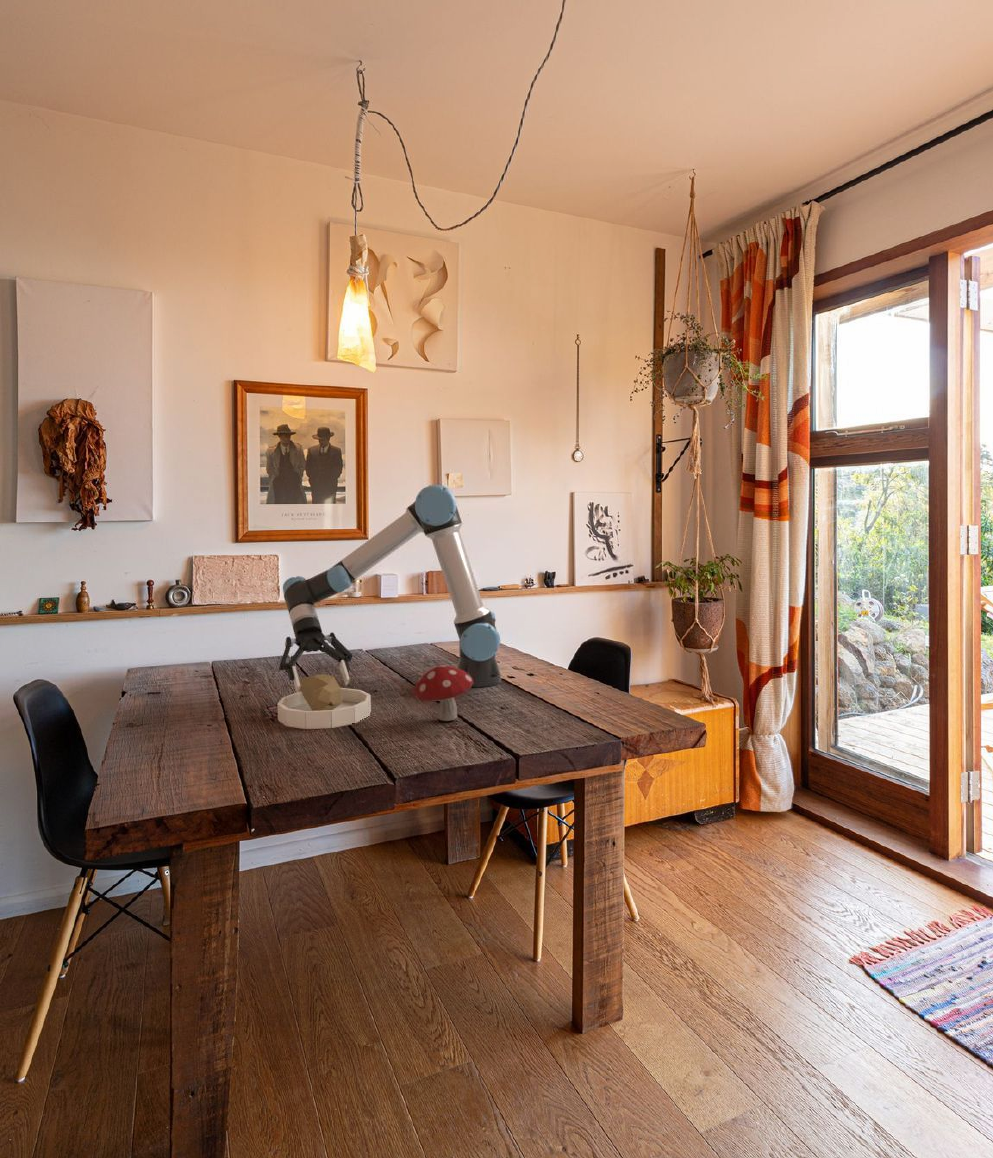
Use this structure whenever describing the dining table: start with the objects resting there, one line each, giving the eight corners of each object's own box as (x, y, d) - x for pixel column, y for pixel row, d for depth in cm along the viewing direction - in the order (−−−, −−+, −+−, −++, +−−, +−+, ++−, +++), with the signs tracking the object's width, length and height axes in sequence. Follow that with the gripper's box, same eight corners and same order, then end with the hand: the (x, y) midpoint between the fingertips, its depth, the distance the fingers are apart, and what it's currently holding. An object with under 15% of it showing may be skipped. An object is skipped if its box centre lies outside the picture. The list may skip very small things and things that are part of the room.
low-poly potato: (313, 704, 197) (282, 693, 188) (333, 671, 198) (303, 658, 189) (341, 729, 187) (309, 719, 178) (362, 694, 188) (331, 682, 179)
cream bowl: (373, 701, 202) (373, 686, 201) (366, 726, 178) (365, 709, 177) (289, 704, 199) (288, 689, 199) (270, 730, 175) (269, 713, 175)
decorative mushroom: (472, 730, 174) (472, 672, 172) (409, 731, 174) (408, 672, 172) (475, 712, 190) (474, 658, 188) (417, 712, 190) (416, 659, 188)
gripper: (344, 627, 208) (363, 686, 197) (259, 635, 195) (274, 699, 184) (350, 611, 203) (370, 671, 192) (262, 619, 190) (278, 684, 179)
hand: (323, 685), depth 188 cm, fingers open, 13 cm apart
